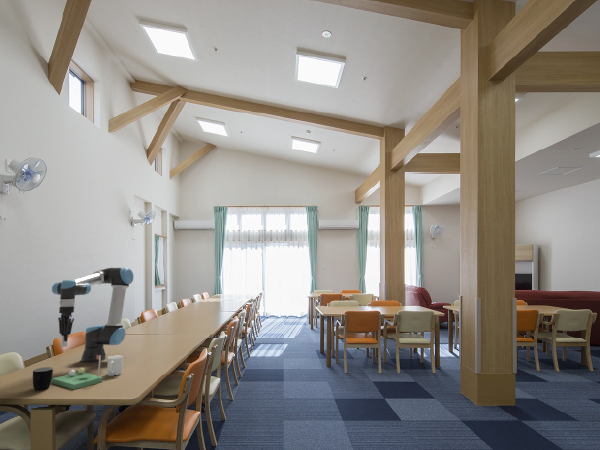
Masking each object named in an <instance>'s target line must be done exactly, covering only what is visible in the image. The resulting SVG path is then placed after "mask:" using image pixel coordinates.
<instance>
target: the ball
mask: <svg viewBox="0 0 600 450" xmlns="http://www.w3.org/2000/svg"><path fill="white" fill-rule="evenodd" d="M75 373H76V370H74V369H70V370H69V371H68V374H67V375H69V376H74V375H75Z"/></svg>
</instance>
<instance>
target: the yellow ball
mask: <svg viewBox="0 0 600 450" xmlns="http://www.w3.org/2000/svg"><path fill="white" fill-rule="evenodd" d="M85 371H86V368H84V367H79V369H78V370H77V372H78V373H79V374H83V373H86V372H85Z"/></svg>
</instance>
